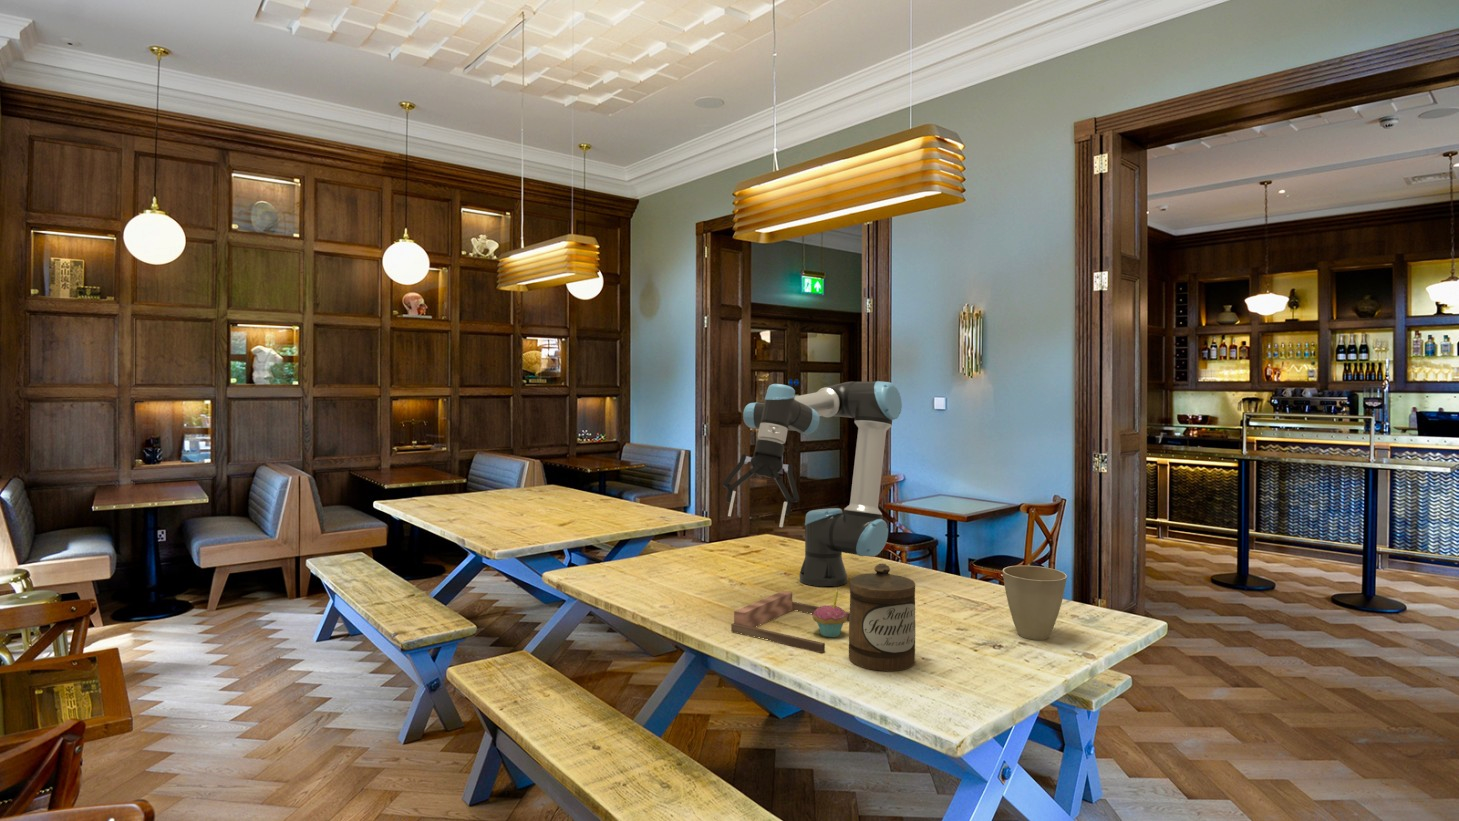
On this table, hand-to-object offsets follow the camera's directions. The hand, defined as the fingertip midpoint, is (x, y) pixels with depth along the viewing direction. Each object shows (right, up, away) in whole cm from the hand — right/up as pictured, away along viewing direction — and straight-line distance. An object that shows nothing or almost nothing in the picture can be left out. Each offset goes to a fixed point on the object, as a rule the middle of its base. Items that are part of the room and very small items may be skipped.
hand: (754, 521), depth 195 cm
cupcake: (+19, -28, -5) cm, 34 cm away
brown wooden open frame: (+12, -27, 0) cm, 30 cm away
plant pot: (+70, -28, -6) cm, 75 cm away
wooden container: (+28, -28, -23) cm, 46 cm away
